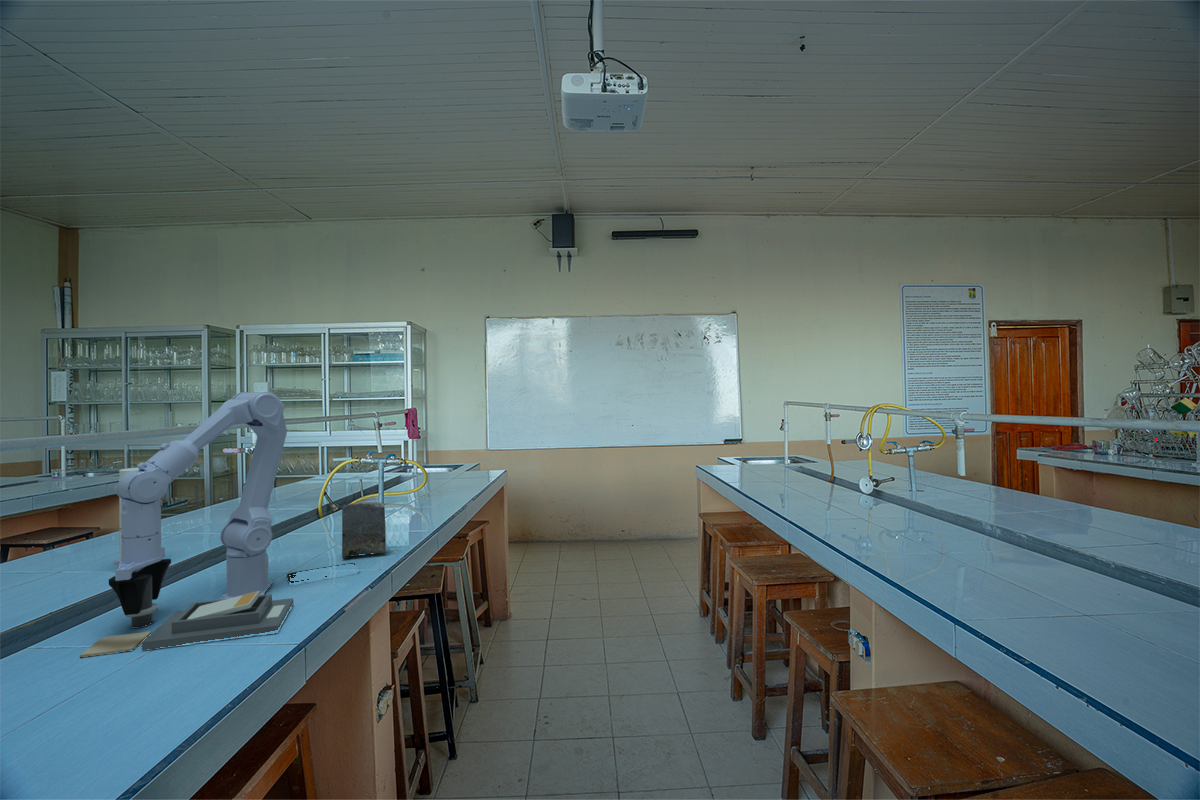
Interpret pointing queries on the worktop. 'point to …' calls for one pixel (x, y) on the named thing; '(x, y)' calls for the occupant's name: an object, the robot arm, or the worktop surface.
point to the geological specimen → (363, 528)
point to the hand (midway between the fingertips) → (141, 606)
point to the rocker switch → (225, 606)
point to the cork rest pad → (115, 644)
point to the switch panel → (219, 623)
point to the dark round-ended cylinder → (145, 608)
